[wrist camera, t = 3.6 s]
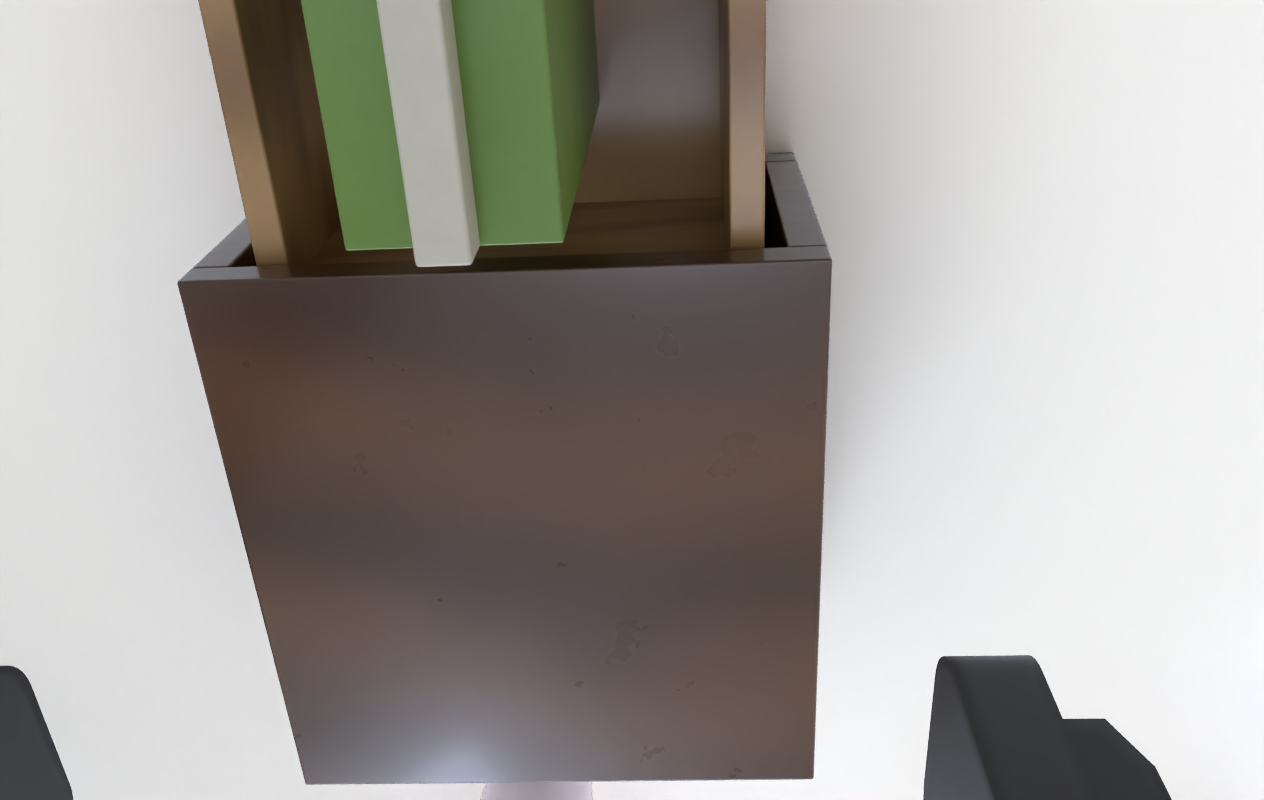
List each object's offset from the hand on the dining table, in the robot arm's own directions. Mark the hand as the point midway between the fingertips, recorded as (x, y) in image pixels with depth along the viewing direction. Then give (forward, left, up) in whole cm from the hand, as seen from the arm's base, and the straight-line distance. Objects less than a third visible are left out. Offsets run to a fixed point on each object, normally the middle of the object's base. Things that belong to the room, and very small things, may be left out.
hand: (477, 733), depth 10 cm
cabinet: (-2, -10, -25) cm, 27 cm away
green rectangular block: (-2, +4, -23) cm, 23 cm away
